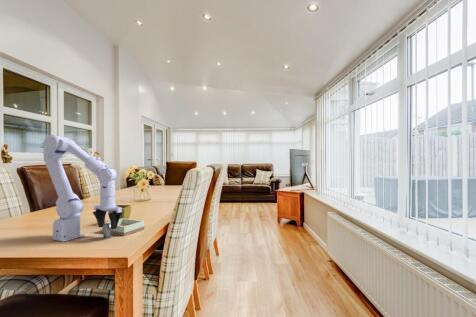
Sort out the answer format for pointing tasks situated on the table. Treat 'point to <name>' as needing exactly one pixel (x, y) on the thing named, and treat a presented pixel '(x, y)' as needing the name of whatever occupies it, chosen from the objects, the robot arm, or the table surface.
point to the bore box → (127, 227)
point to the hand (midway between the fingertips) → (107, 227)
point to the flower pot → (124, 211)
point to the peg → (107, 230)
